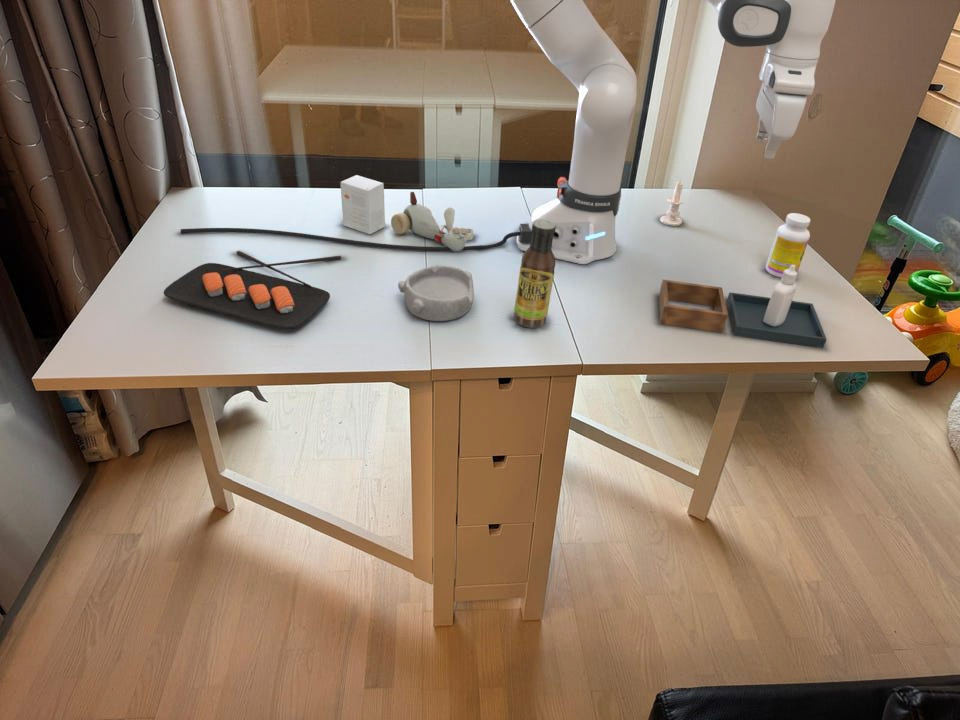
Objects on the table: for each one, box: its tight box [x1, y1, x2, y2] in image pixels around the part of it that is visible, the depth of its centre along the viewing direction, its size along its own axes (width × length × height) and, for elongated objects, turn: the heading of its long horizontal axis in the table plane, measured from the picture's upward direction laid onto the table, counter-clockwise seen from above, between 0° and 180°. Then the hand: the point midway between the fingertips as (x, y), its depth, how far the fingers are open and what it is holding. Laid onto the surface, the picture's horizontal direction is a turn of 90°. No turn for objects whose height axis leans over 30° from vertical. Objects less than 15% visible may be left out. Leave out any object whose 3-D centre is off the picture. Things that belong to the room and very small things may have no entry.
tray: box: [726, 291, 828, 349], centre depth 139 cm, size 16×13×2 cm
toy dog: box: [390, 191, 475, 252], centre depth 158 cm, size 12×19×9 cm, turn 69°
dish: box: [397, 264, 475, 322], centre depth 136 cm, size 14×14×5 cm
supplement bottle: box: [765, 212, 811, 279], centre depth 153 cm, size 7×7×13 cm
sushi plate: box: [163, 250, 342, 330], centre depth 139 cm, size 29×30×4 cm
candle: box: [659, 181, 684, 227], centre depth 173 cm, size 5×5×10 cm
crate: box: [658, 279, 729, 334], centre depth 139 cm, size 12×11×4 cm
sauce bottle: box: [513, 219, 556, 329], centre depth 129 cm, size 6×6×20 cm
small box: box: [340, 174, 386, 235], centre depth 161 cm, size 8×6×10 cm
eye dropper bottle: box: [763, 265, 798, 327], centre depth 136 cm, size 4×6×12 cm
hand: (764, 149), depth 134 cm, fingers open, 8 cm apart
